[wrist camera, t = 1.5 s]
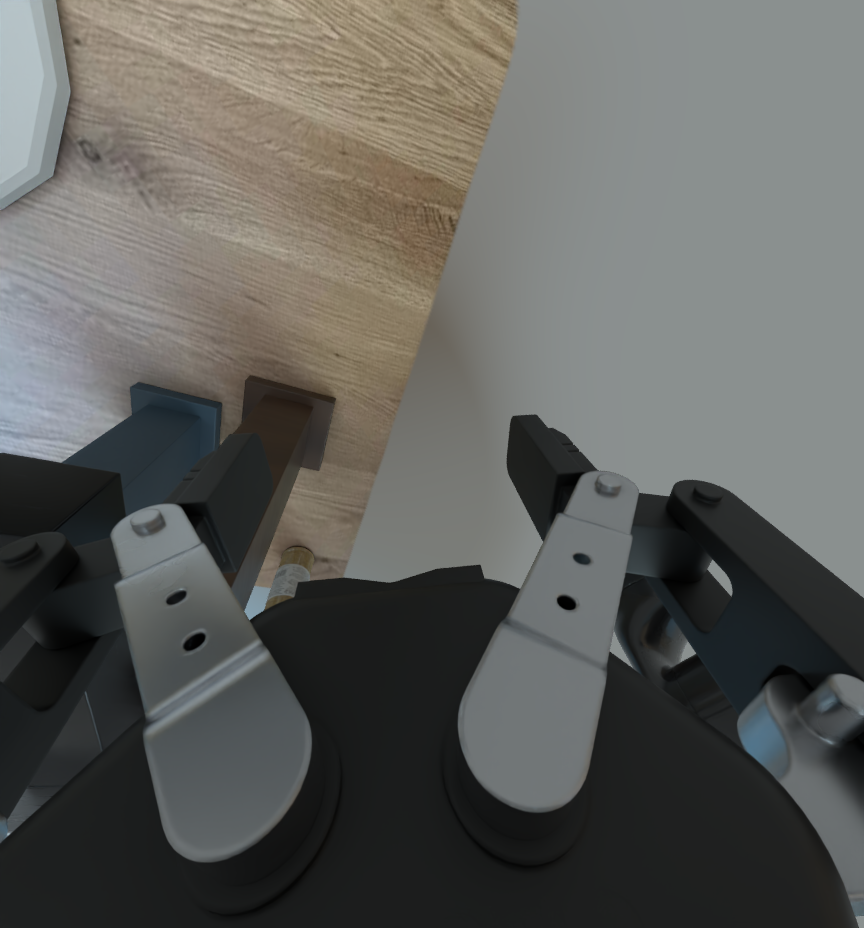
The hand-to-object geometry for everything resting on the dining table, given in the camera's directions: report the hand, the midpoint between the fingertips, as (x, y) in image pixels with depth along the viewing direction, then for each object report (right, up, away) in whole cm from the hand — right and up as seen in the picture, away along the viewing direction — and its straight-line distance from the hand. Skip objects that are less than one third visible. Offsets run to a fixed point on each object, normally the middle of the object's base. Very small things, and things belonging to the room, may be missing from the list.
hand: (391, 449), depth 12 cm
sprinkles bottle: (-18, -14, +41) cm, 46 cm away
